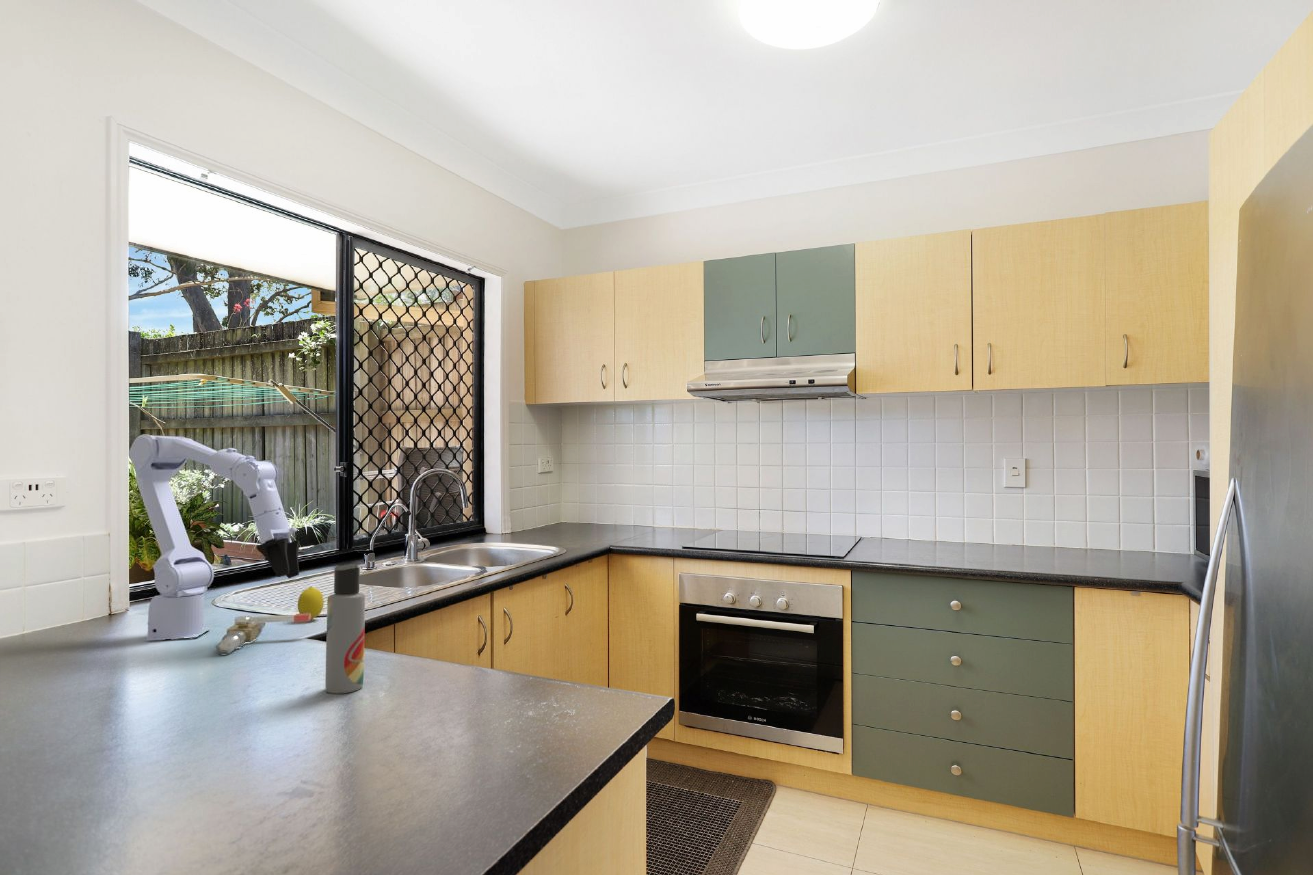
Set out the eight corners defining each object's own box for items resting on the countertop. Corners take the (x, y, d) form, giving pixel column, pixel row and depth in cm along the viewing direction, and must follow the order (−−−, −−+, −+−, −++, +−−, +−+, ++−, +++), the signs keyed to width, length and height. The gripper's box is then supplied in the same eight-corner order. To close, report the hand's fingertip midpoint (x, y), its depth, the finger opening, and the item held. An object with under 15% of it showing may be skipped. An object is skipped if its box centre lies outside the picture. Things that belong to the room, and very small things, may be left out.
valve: (236, 657, 135) (237, 635, 135) (211, 659, 134) (211, 636, 134) (268, 632, 156) (269, 612, 156) (247, 633, 155) (247, 613, 155)
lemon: (312, 623, 162) (313, 588, 163) (291, 622, 164) (292, 588, 164) (328, 618, 168) (329, 585, 168) (308, 617, 169) (308, 584, 169)
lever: (232, 625, 143) (232, 619, 143) (237, 622, 146) (237, 616, 146) (308, 621, 147) (308, 615, 147) (311, 618, 150) (311, 612, 150)
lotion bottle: (371, 686, 115) (373, 563, 116) (342, 696, 110) (345, 568, 111) (346, 681, 118) (348, 562, 119) (317, 691, 113) (320, 566, 114)
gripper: (279, 503, 141) (300, 566, 139) (298, 512, 155) (317, 570, 153) (242, 515, 139) (262, 580, 137) (264, 523, 153) (283, 582, 151)
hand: (288, 575), depth 145 cm, fingers open, 7 cm apart
